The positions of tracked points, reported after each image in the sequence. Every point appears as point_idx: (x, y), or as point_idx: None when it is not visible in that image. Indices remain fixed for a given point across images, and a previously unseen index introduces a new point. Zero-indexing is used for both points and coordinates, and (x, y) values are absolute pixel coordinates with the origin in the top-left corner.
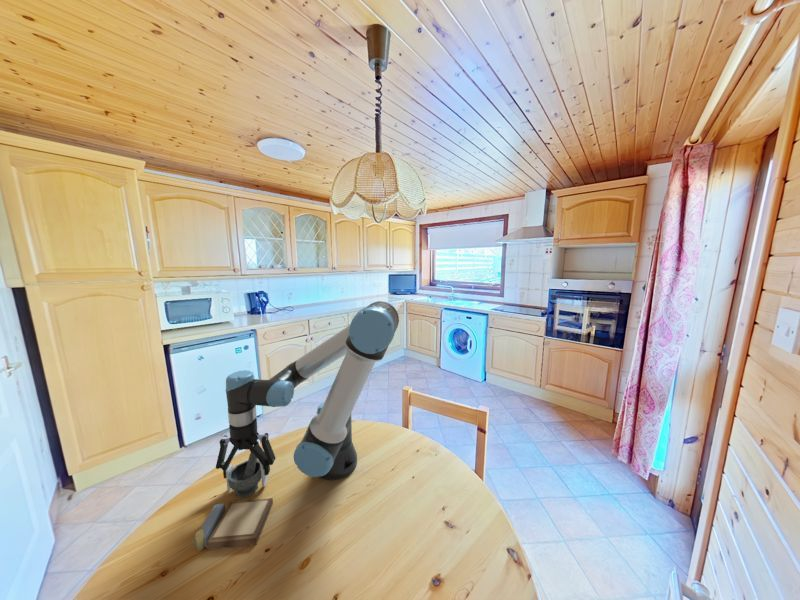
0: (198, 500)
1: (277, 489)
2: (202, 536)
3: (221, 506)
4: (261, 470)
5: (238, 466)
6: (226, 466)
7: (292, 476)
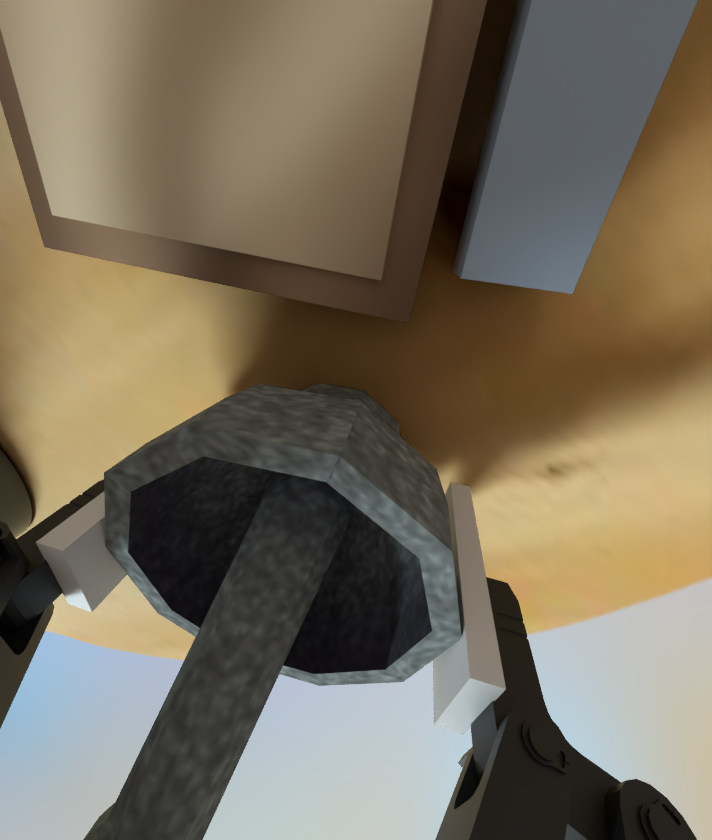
0: (686, 476)
1: (139, 381)
2: None
3: (488, 231)
4: (86, 523)
5: (378, 659)
6: (505, 780)
7: (103, 451)
